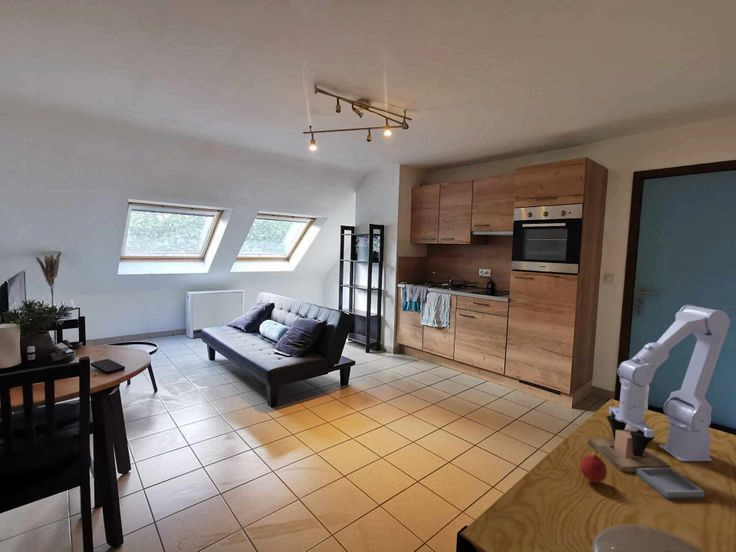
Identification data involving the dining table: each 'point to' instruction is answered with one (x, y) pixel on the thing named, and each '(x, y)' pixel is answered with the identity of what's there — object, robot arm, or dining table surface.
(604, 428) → the dining table surface
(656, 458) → the board
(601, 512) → the dining table surface
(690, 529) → the dining table surface
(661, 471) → the tray
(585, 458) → the red pomegranate
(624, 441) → the block
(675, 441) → the robot arm
